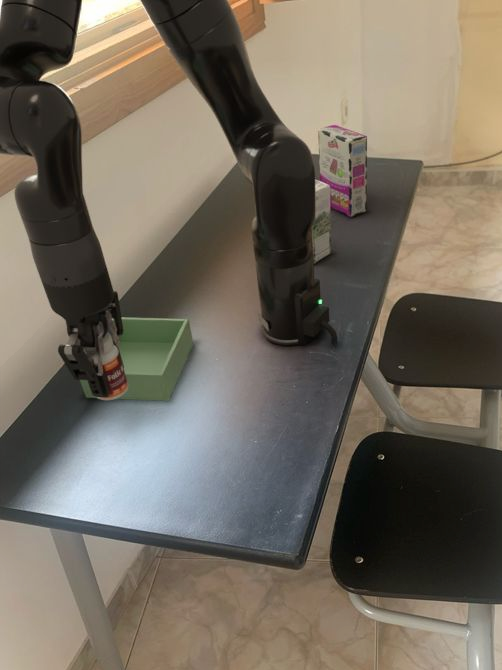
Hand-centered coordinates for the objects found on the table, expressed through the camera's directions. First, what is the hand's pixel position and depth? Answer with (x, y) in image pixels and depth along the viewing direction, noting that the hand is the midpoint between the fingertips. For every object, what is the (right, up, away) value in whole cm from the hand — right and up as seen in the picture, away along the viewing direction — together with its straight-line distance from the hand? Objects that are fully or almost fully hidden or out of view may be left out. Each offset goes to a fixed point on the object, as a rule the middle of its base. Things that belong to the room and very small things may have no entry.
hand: (109, 382), depth 88 cm
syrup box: (+27, +28, +45) cm, 59 cm away
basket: (-1, +3, +19) cm, 19 cm away
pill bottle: (0, -1, +1) cm, 2 cm away
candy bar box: (+33, +44, +62) cm, 83 cm away
